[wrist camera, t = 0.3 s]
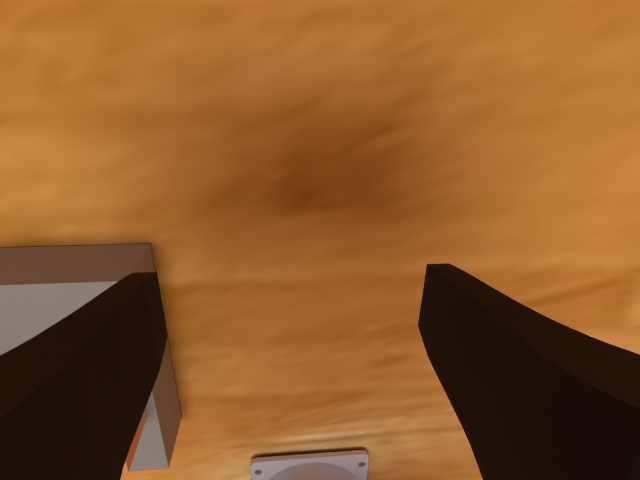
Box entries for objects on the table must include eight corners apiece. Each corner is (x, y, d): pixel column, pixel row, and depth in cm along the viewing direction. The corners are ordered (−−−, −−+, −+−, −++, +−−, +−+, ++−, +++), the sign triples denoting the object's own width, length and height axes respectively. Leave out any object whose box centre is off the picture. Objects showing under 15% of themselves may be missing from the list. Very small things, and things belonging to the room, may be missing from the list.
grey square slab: (181, 416, 26) (168, 468, 23) (-25, 429, 25) (-68, 485, 22) (150, 243, 21) (128, 280, 18) (-114, 250, 20) (-187, 291, 17)
